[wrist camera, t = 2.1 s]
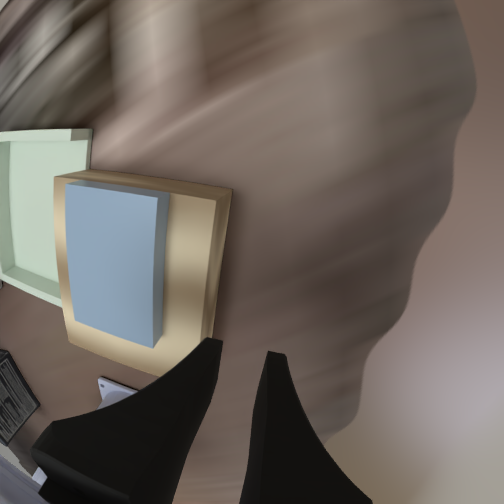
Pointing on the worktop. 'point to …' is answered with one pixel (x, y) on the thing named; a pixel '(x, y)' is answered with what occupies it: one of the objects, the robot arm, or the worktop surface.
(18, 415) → the small box
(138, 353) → the tan flat block
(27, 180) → the tray
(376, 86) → the worktop surface
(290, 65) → the worktop surface
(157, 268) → the blue rectangular block
